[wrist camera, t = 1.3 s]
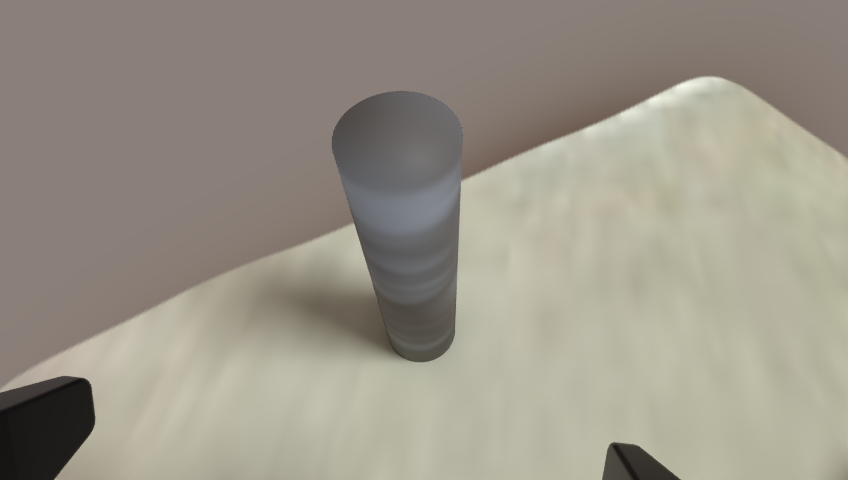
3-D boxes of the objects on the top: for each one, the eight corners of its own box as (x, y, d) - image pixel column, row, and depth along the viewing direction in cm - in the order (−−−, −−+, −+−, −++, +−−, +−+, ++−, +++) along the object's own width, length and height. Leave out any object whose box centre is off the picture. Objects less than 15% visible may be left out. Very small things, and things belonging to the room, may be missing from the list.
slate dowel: (434, 374, 21) (420, 209, 10) (375, 341, 22) (305, 156, 11) (466, 316, 23) (485, 116, 12) (409, 287, 24) (377, 77, 13)
